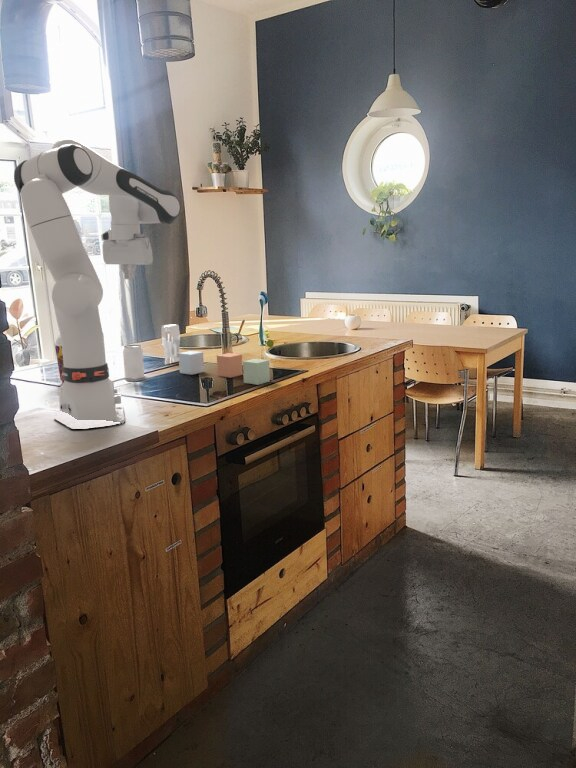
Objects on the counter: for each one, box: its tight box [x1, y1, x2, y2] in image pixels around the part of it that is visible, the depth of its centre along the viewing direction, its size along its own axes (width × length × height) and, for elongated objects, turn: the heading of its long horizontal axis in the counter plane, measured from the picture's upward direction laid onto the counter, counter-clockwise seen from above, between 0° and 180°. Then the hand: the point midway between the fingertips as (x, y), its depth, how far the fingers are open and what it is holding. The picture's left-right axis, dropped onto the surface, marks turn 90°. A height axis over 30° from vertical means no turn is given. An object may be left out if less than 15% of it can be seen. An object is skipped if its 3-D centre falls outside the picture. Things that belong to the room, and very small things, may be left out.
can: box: [122, 344, 145, 383], centre depth 227 cm, size 6×6×12 cm
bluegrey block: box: [178, 350, 205, 376], centre depth 232 cm, size 6×6×7 cm
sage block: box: [242, 358, 271, 385], centre depth 214 cm, size 6×6×7 cm
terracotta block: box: [216, 352, 244, 378], centre depth 226 cm, size 6×6×7 cm
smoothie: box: [54, 334, 64, 384], centre depth 224 cm, size 8×8×20 cm
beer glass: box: [161, 323, 181, 365], centre depth 255 cm, size 7×7×15 cm
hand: (129, 279), depth 209 cm, fingers closed
